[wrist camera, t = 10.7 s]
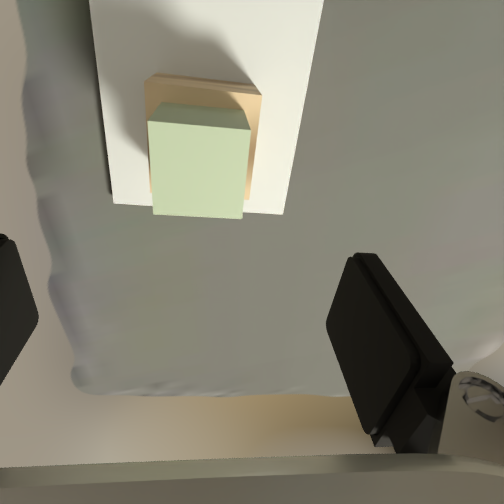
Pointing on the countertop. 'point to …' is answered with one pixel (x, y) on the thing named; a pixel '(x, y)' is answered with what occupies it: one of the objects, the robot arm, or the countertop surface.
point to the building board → (204, 66)
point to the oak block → (206, 103)
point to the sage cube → (198, 160)
